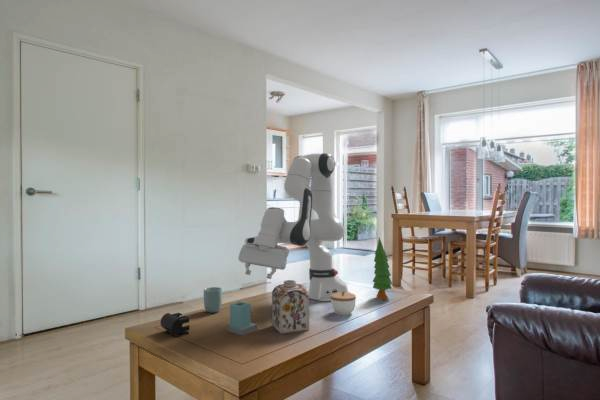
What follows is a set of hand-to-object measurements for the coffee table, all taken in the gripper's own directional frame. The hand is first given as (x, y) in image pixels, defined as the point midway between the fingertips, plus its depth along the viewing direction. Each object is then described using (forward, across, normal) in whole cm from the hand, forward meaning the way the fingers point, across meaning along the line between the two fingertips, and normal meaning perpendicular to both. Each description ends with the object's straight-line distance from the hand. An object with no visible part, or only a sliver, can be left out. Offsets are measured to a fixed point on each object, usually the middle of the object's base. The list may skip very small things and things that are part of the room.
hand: (258, 276), depth 160 cm
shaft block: (+21, -1, +3) cm, 21 cm away
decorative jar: (+16, -17, -4) cm, 24 cm away
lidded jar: (+5, -32, -26) cm, 41 cm away
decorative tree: (-8, -45, -53) cm, 70 cm away
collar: (+20, 0, +4) cm, 20 cm away
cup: (+17, +23, -16) cm, 33 cm away
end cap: (+28, +22, +10) cm, 37 cm away
